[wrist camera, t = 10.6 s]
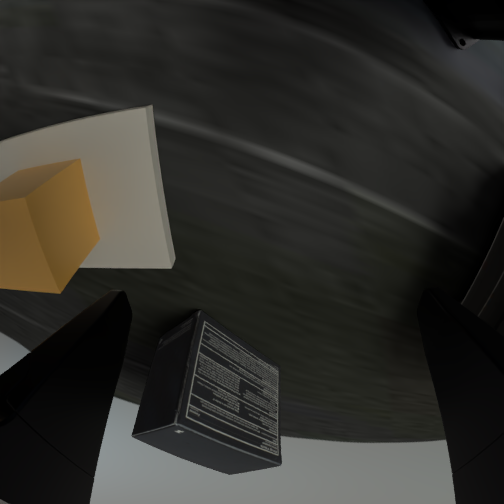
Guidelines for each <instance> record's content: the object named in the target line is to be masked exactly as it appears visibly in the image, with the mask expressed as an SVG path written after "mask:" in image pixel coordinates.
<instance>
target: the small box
mask: <svg viewBox="0 0 504 504" xmlns="http://www.w3.org/2000/svg"><path fill="white" fill-rule="evenodd" d="M280 371H281V367H280V366H279V365H278V364H276V363H275V362H273V361H272V360H270V359H269V358H267V357H266V356H264V355H263V354H261V353H260V352H259V351H257V350H256V349H254V348H253V347H251V346H250V345H249V344H247V343H246V342H244V341H243V340H241V339H240V338H239V337H237V336H236V335H234V334H233V333H232V332H230V331H229V330H228V329H226V328H225V327H223V326H222V325H221V324H219V323H218V322H217V321H215V320H214V319H213V318H211V317H210V316H208V315H207V314H206V313H204V312H203V311H202V310H200V311H197V312H195V313H193V314H192V316H190V317H189V318H187V319H186V320H185V321H183V322H182V323H180V324H179V325H178V326H176V327H174V328H173V329H172V330H170V331H168V332H166V333H165V334H164V335H163V336H162V337H160V338H159V342H158V345H157V348H156V352H155V355H154V359H153V362H152V365H151V368H150V372H149V375H148V379H147V382H146V386H145V389H144V392H143V396H142V399H141V403H140V406H139V410H138V414H137V418H136V422H135V425H134V429H133V432H132V437H134V438H136V439H138V440H140V441H142V442H144V443H147V444H149V445H151V446H153V447H156V448H158V449H160V450H163V451H165V452H167V453H170V454H172V455H175V456H177V457H180V458H182V459H185V460H188V461H190V462H193V463H196V464H198V465H202V466H204V467H207V468H211V469H213V470H216V471H219V472H222V473H226V474H229V475H230V474H238V473H244V472H249V471H255V470H261V469H267V468H271V467H277V466H280V465H281V464H282V458H281V445H280V444H281V441H280V439H281V438H280V436H281V434H280V424H281V421H280Z"/></svg>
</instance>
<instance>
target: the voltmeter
mask: <svg viewBox="0 0 504 504" xmlns="http://www.w3.org/2000/svg"><path fill="white" fill-rule="evenodd" d="M459 303H460V304H462V305H463V306H465V307H466V308H467V309H469V310H470V311H471V312H473V313H474V314H475V315H477V316H478V317H479V318H481V319H482V320H483V321H485V322H486V323H487V324H488V325H490V326H491V327H492V328H494V329H495V330H496V331H497V332H499V333H500V334H501V335H503V336H504V218H503V220H502V223H501V225H500V227H499V230H498V232H497V234H496V237H495V239H494V241H493V243H492V245H491V248H490V250H489V252H488V254H487V256H486V258H485V260H484V262H483V264H482V266H481V268H480V270H479V272H478V274H477V276H476V278H475V280H474V282H473V284H472V285H471V287H470V289H469V291H468V293H467V294H466V296H465V298H464V300H462V301H461V302H459Z"/></svg>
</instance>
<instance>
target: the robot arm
mask: <svg viewBox="0 0 504 504" xmlns="http://www.w3.org/2000/svg"><path fill="white" fill-rule="evenodd" d="M424 2H425V3H426V4H427V6H428V7H429V8H430V10H431V11H432V12H433V14H434V15H435V17H436V18H437V19H438V21H439V22H440V24H441V25H442V27H443V28H444V30H445V31H446V33H447V34H448V36H449V37H450V39H451V40H452V42H453V44H454V45H455V46H456V48H458V49H461V50H465V49H467V48H469V47H470V46H471V45H473V44H474V43H476V42H477V41H479V40H502V41H504V0H424ZM460 39H461V41H462V45H461V44H460V42H459V40H460ZM417 316H418V320H419V325H420V330H421V335H422V340H423V345H424V350H425V355H426V359H427V363H428V366H429V370H430V373H431V377H432V381H433V384H434V388H435V392H436V396H437V400H438V404H439V408H440V413H441V417H442V422H443V426H444V431H445V436H446V441H447V446H448V452H449V457H450V463H451V469H452V473H453V474H452V477H453V484H454V492H455V501H456V504H504V336H503V335H501V334H500V333H499V332H497V331H496V330H495V329H494V328H492V327H491V326H490V325H488V324H487V323H486V322H485V321H483V320H482V319H481V318H479V317H478V316H477V315H475V314H474V313H473V312H471V311H470V310H469V309H467V308H466V307H465V306H463V305H462V304H460V303H459V302H458V301H456V300H455V299H454V298H452V297H451V296H449V295H448V294H447V293H445V292H444V291H442V290H441V289H440V288H438V287H428V288H426V289H425V290H424V292H423V295H422V297H421V300H420V303H419V306H418V309H417ZM131 321H132V310H131V307H130V304H129V301H128V298H127V295H126V293H125V292H124V291H123V290H111V291H109V292H108V293H107V294H105V295H104V296H103V297H101V298H100V299H98V300H97V301H96V302H94V303H93V304H92V305H90V306H89V307H88V308H86V309H85V310H84V311H82V312H81V313H80V314H78V315H77V316H76V317H75V318H73V319H72V320H71V321H69V322H68V323H67V324H65V325H64V326H63V327H61V328H60V329H59V330H58V331H56V332H55V333H54V334H52V335H51V336H50V337H49V338H47V339H46V340H45V341H44V342H42V343H41V344H40V345H38V346H37V347H36V348H35V349H33V350H32V351H31V353H28V354H27V355H26V356H25V357H24V358H23V359H21V360H20V361H18V362H17V363H16V364H15V365H13V366H12V367H11V368H9V369H8V370H7V371H5V372H4V373H3V374H1V375H0V504H90V498H91V493H92V487H93V482H94V478H93V477H94V476H95V471H96V466H97V461H98V457H99V453H100V448H101V444H102V439H103V435H104V431H105V427H106V423H107V419H108V415H109V411H110V408H111V404H112V400H113V396H114V393H115V389H116V385H117V382H118V378H119V375H120V372H121V368H122V365H123V361H124V356H125V351H126V346H127V341H128V336H129V331H130V326H131Z"/></svg>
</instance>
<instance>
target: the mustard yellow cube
mask: <svg viewBox="0 0 504 504" xmlns="http://www.w3.org/2000/svg"><path fill="white" fill-rule="evenodd" d="M99 240H100V237H99V234H98V230H97V226H96V223H95V219H94V215H93V212H92V208H91V204H90V200H89V196H88V191H87V187H86V183H85V178H84V174H83V169H82V164H81V160H80V159H74V160H68V161H62V162H57V163H52V164H46V165H41V166H37V167H32V168H27V169H23V170H18V171H17V172H15V173H14V174H12V175H10V176H9V177H7V178H6V179H4V180H3V181H1V182H0V288H3V289H13V290H24V291H35V292H47V293H60V294H61V292H62V291H63V289H64V288H65V286H66V285H67V283H68V282H69V281H70V279H71V278H72V276H73V275H74V273H75V272H76V271H77V269H78V268H79V267H80V265H81V264H82V262H83V261H84V260H85V258H86V257H87V256H88V254H89V253H90V252H91V250H92V249H93V248H94V247H95V245H96V244H97V243H98V241H99Z"/></svg>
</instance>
